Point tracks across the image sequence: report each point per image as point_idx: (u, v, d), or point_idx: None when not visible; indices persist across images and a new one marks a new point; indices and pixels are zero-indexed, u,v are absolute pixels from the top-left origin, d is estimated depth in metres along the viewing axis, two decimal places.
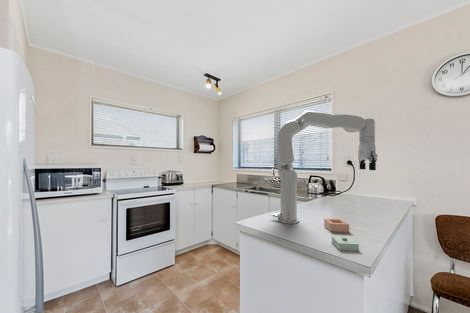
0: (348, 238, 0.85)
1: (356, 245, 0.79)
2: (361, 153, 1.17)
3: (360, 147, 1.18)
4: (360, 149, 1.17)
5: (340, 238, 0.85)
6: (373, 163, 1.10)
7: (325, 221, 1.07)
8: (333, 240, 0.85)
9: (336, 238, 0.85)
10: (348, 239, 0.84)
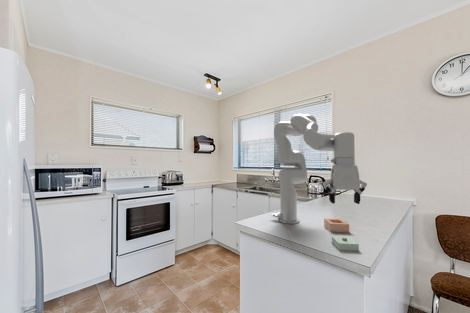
0: (348, 238, 0.85)
1: (356, 245, 0.79)
2: (345, 181, 0.81)
3: (342, 172, 0.81)
4: (344, 174, 0.81)
5: (340, 238, 0.85)
6: None
7: (325, 221, 1.07)
8: (333, 240, 0.85)
9: (336, 238, 0.85)
10: (348, 239, 0.84)
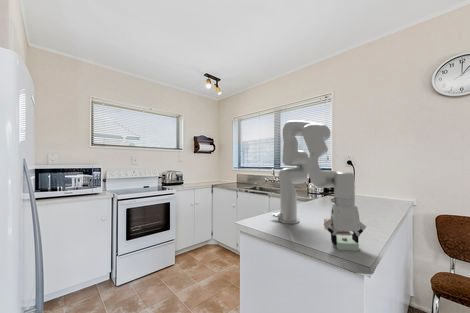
0: (348, 238, 0.85)
1: (356, 245, 0.79)
2: (345, 222, 0.80)
3: (342, 213, 0.81)
4: (344, 215, 0.80)
5: (340, 238, 0.85)
6: None
7: (325, 221, 1.07)
8: None
9: None
10: (348, 239, 0.84)
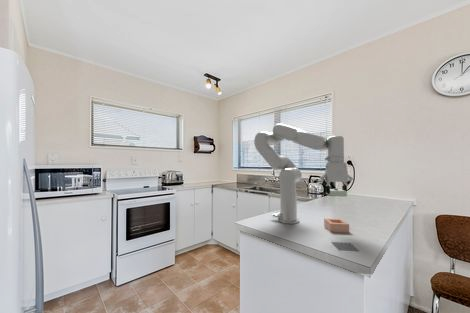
0: (339, 189, 1.06)
1: (345, 192, 1.00)
2: (336, 174, 1.02)
3: (334, 167, 1.02)
4: (335, 169, 1.02)
5: (332, 189, 1.06)
6: None
7: (325, 221, 1.07)
8: None
9: None
10: (339, 189, 1.05)
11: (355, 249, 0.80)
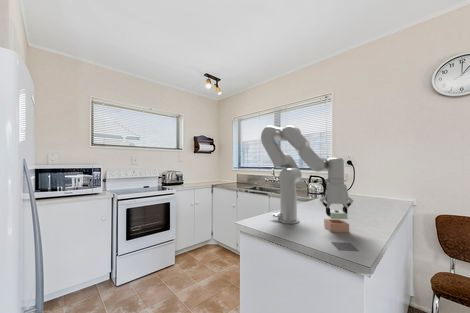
0: (339, 211, 1.06)
1: (345, 214, 1.00)
2: (337, 197, 1.01)
3: (334, 189, 1.02)
4: (335, 191, 1.01)
5: (333, 211, 1.05)
6: None
7: (325, 221, 1.07)
8: None
9: (330, 211, 1.05)
10: (339, 211, 1.04)
11: (355, 249, 0.80)
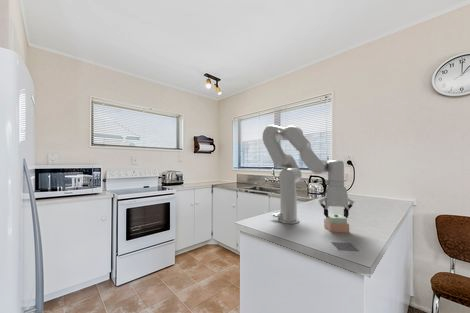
0: (339, 215, 1.06)
1: (345, 219, 1.00)
2: (336, 199, 1.01)
3: (334, 192, 1.02)
4: (335, 194, 1.01)
5: (332, 215, 1.06)
6: None
7: (325, 221, 1.07)
8: (327, 217, 1.06)
9: (329, 215, 1.06)
10: (339, 215, 1.05)
11: (355, 249, 0.80)
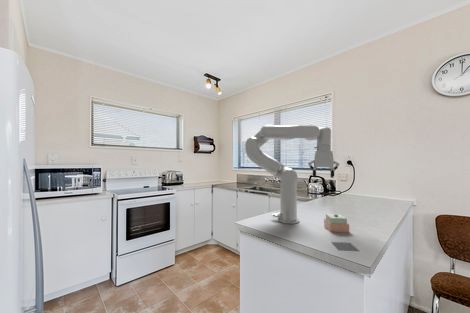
0: (339, 215, 1.06)
1: (345, 219, 1.00)
2: (323, 161, 1.16)
3: (321, 155, 1.16)
4: (322, 156, 1.16)
5: (332, 215, 1.06)
6: None
7: (325, 221, 1.07)
8: (327, 217, 1.06)
9: (329, 215, 1.06)
10: (339, 215, 1.05)
11: (355, 249, 0.80)
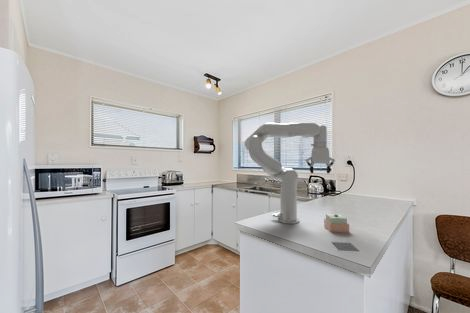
0: (339, 215, 1.06)
1: (345, 219, 1.00)
2: (320, 157, 1.21)
3: (318, 151, 1.21)
4: (319, 153, 1.21)
5: (332, 215, 1.06)
6: None
7: (325, 221, 1.07)
8: (327, 217, 1.06)
9: (329, 215, 1.06)
10: (339, 215, 1.05)
11: (355, 249, 0.80)
